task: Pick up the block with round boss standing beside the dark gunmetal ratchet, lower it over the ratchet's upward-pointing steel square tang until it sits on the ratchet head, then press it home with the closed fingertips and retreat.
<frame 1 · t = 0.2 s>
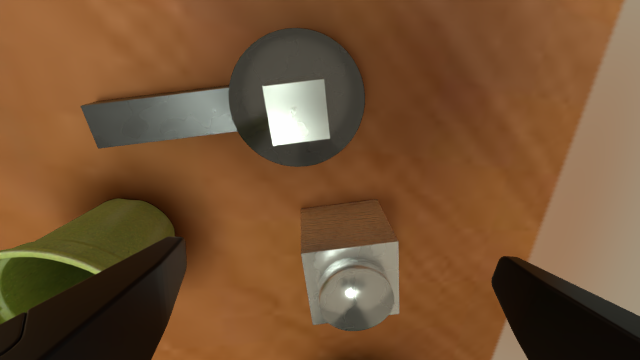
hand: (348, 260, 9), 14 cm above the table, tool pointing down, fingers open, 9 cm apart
plant pot: (136, 231, 24), on the table
block with round boss: (342, 236, 25), on the table
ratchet: (297, 97, 20), on the table
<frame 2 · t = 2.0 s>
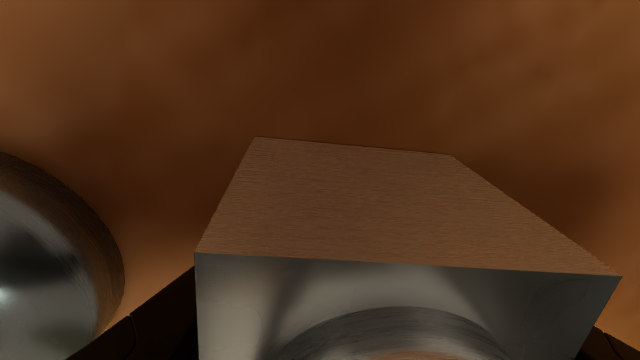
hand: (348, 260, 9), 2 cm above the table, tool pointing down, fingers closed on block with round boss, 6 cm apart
block with round boss: (341, 231, 10), on the table, touching gripper
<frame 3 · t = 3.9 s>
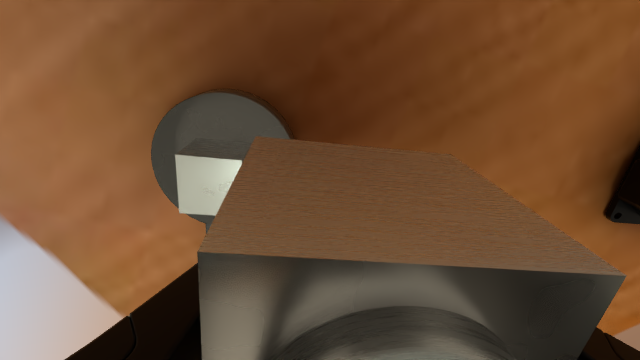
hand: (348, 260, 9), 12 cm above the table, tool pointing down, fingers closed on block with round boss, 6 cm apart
block with round boss: (342, 230, 10), point 10 cm above the table, touching gripper
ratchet: (232, 155, 20), on the table
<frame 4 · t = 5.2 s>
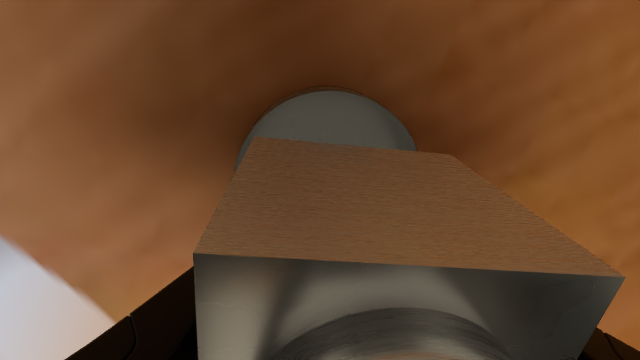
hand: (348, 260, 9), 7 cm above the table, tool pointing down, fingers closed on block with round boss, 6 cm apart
block with round boss: (341, 231, 10), point 5 cm above the table, touching gripper
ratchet: (325, 171, 15), on the table
when the fingers open (5 cm above the table, at t = 6.1 s): block with round boss drops 2 cm, resting on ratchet.
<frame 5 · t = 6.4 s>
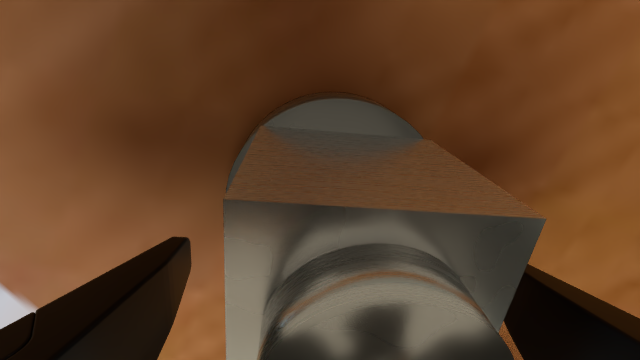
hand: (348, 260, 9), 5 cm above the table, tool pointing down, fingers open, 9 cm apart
block with round boss: (337, 209, 12), point 2 cm above the table, touching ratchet
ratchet: (330, 187, 13), on the table, touching block with round boss
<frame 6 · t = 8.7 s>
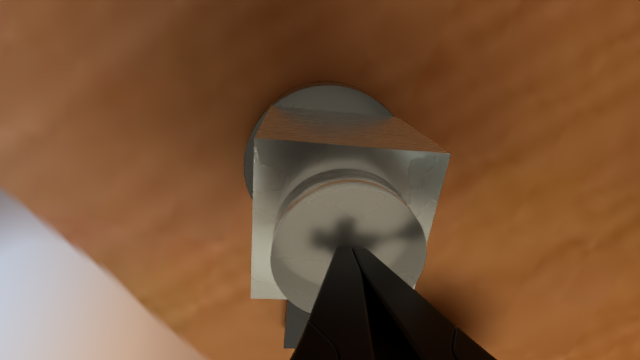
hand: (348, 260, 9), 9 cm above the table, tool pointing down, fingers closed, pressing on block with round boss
block with round boss: (328, 171, 15), point 2 cm above the table, touching gripper, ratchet
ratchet: (324, 158, 17), on the table, touching block with round boss
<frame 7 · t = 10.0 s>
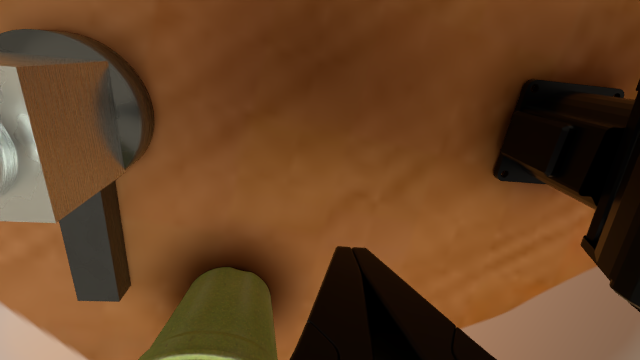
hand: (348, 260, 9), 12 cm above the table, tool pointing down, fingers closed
plant pot: (232, 295, 24), on the table
block with round boss: (56, 116, 16), point 2 cm above the table, touching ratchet
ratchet: (79, 109, 18), on the table, touching block with round boss
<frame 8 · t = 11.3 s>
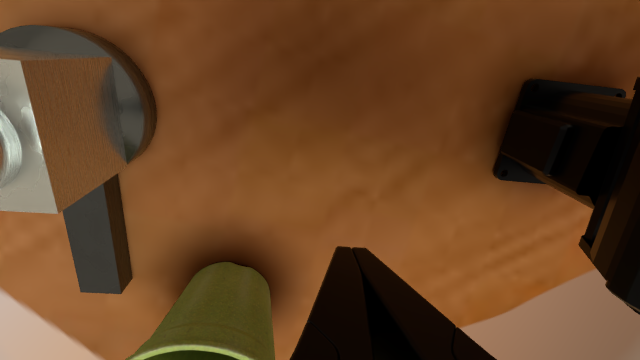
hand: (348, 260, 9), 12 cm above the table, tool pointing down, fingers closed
plant pot: (231, 290, 24), on the table
block with round boss: (61, 110, 16), point 2 cm above the table, touching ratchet
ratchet: (84, 104, 18), on the table, touching block with round boss
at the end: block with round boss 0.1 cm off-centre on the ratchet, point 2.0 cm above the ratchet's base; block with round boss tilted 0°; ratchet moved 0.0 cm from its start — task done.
